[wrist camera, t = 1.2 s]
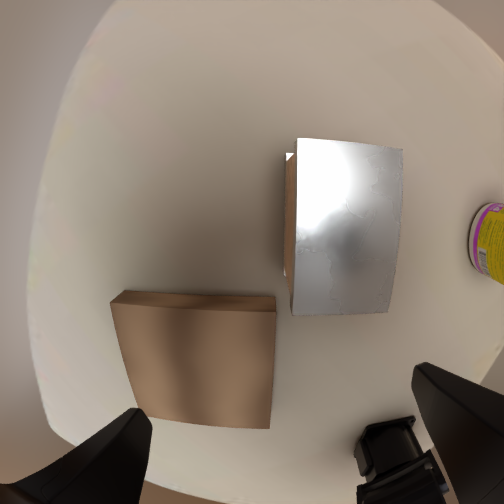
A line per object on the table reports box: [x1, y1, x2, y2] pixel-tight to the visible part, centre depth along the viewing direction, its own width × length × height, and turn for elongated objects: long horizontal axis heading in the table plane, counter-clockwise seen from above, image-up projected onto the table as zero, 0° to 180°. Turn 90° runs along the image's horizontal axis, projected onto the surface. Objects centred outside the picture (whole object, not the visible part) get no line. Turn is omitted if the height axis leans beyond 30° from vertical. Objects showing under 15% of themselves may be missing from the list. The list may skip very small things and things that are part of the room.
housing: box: [283, 138, 403, 315], centre depth 15 cm, size 5×8×7 cm, turn 0°
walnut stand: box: [110, 290, 276, 429], centre depth 20 cm, size 12×12×2 cm
